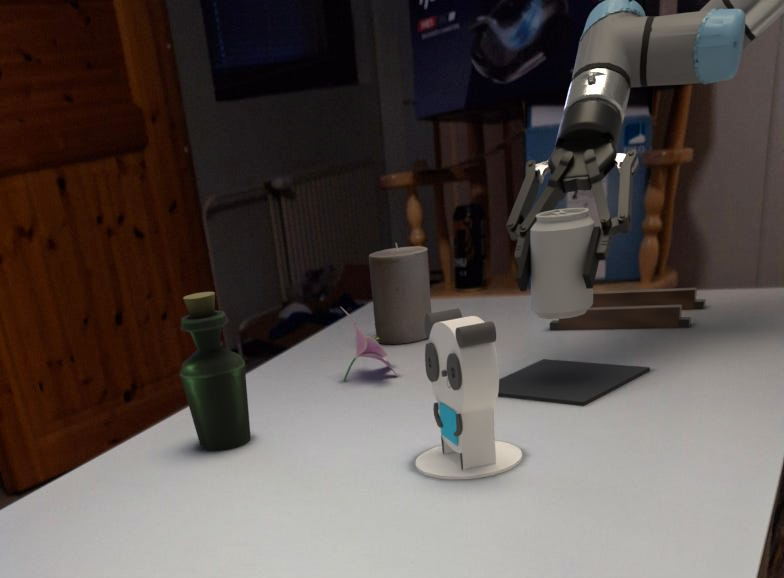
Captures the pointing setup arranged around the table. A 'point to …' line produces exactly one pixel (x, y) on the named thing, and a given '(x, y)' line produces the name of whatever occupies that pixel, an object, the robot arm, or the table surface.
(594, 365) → the mat
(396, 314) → the pillar candle
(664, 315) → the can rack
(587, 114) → the robot arm
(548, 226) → the can
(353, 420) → the table surface
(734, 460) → the table surface
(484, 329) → the panda figurine
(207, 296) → the potion bottle
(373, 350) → the lily
